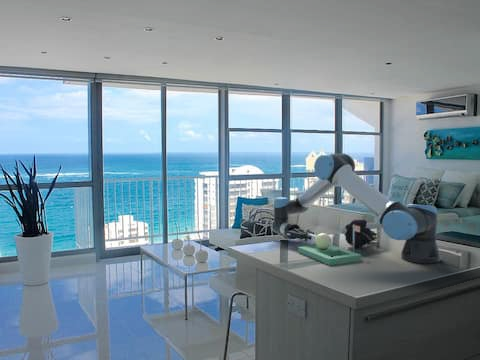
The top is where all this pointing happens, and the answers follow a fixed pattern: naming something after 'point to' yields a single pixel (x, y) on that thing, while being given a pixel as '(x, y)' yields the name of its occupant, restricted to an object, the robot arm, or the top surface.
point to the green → (330, 254)
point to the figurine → (359, 233)
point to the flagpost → (355, 228)
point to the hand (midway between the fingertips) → (316, 239)
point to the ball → (323, 240)
